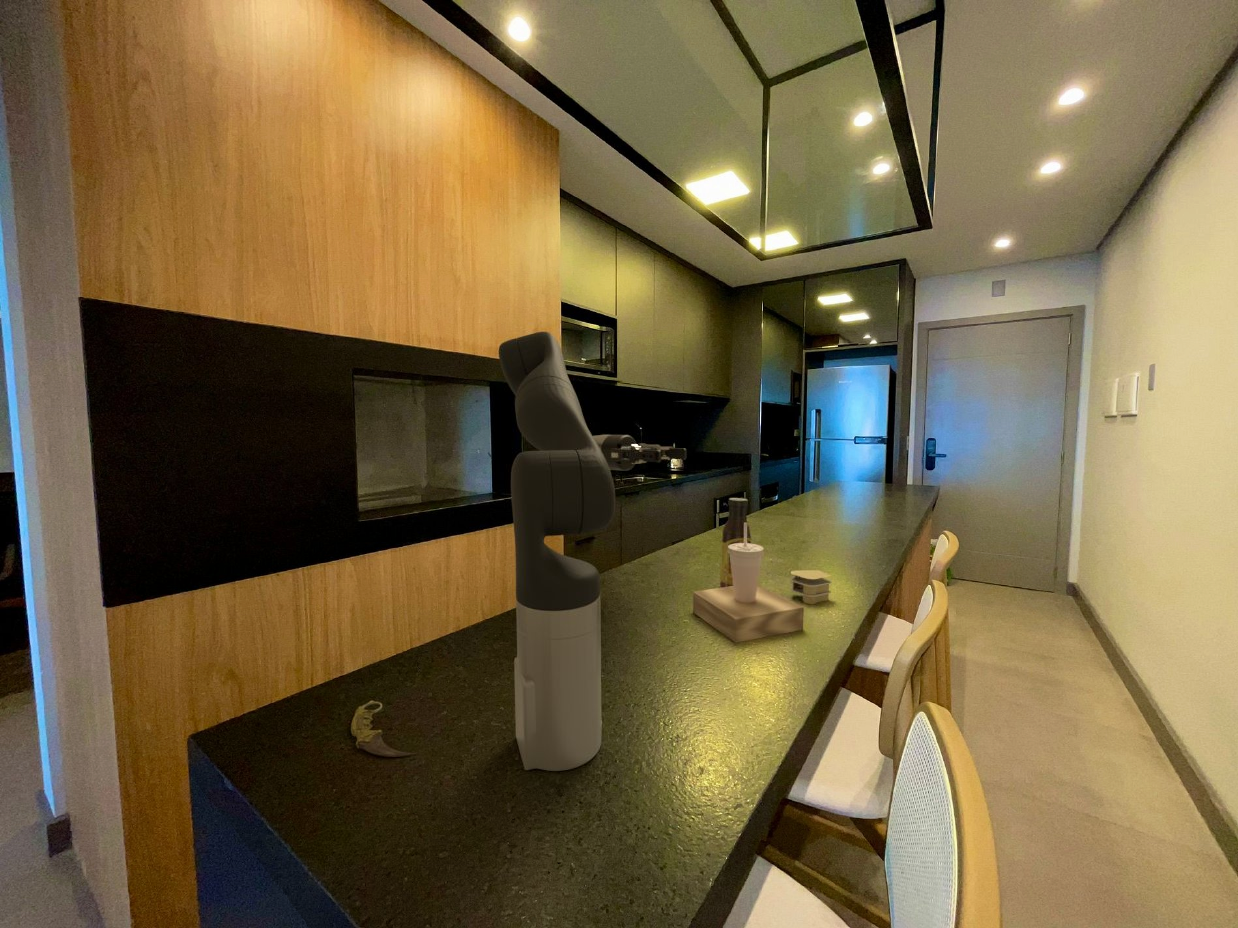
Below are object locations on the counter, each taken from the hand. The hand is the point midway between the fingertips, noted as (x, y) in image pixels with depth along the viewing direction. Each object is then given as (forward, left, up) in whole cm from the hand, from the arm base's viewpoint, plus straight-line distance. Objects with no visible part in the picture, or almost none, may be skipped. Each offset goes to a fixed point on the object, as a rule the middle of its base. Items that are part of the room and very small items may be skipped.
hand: (673, 455), depth 93 cm
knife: (-51, -22, -31) cm, 63 cm away
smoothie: (+9, -11, -26) cm, 30 cm away
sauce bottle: (+17, +4, -30) cm, 35 cm away
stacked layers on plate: (+28, -7, -31) cm, 42 cm away
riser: (+9, -11, -30) cm, 33 cm away
